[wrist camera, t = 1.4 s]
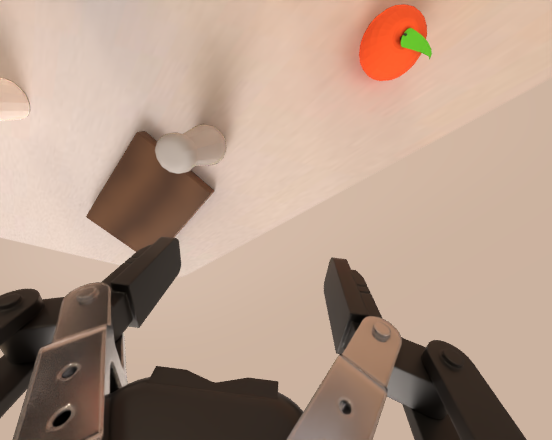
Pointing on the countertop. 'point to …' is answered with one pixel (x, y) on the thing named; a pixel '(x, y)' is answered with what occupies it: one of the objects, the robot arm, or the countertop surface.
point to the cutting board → (146, 197)
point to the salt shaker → (190, 149)
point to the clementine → (394, 42)
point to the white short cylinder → (12, 101)
